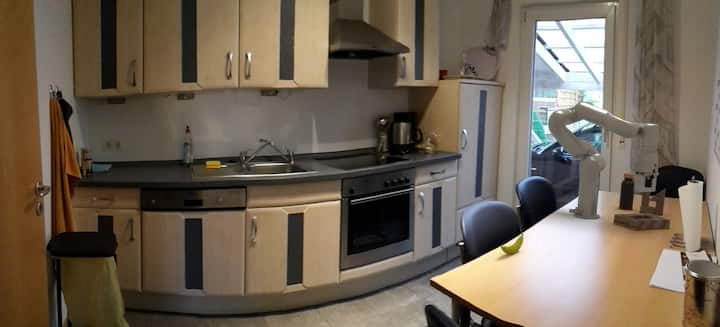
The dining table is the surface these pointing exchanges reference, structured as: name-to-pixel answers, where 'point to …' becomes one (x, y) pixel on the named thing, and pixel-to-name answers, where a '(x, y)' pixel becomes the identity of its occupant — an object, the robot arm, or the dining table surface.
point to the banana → (513, 246)
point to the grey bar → (643, 183)
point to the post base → (641, 221)
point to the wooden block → (657, 198)
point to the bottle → (627, 192)
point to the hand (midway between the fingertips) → (644, 186)
